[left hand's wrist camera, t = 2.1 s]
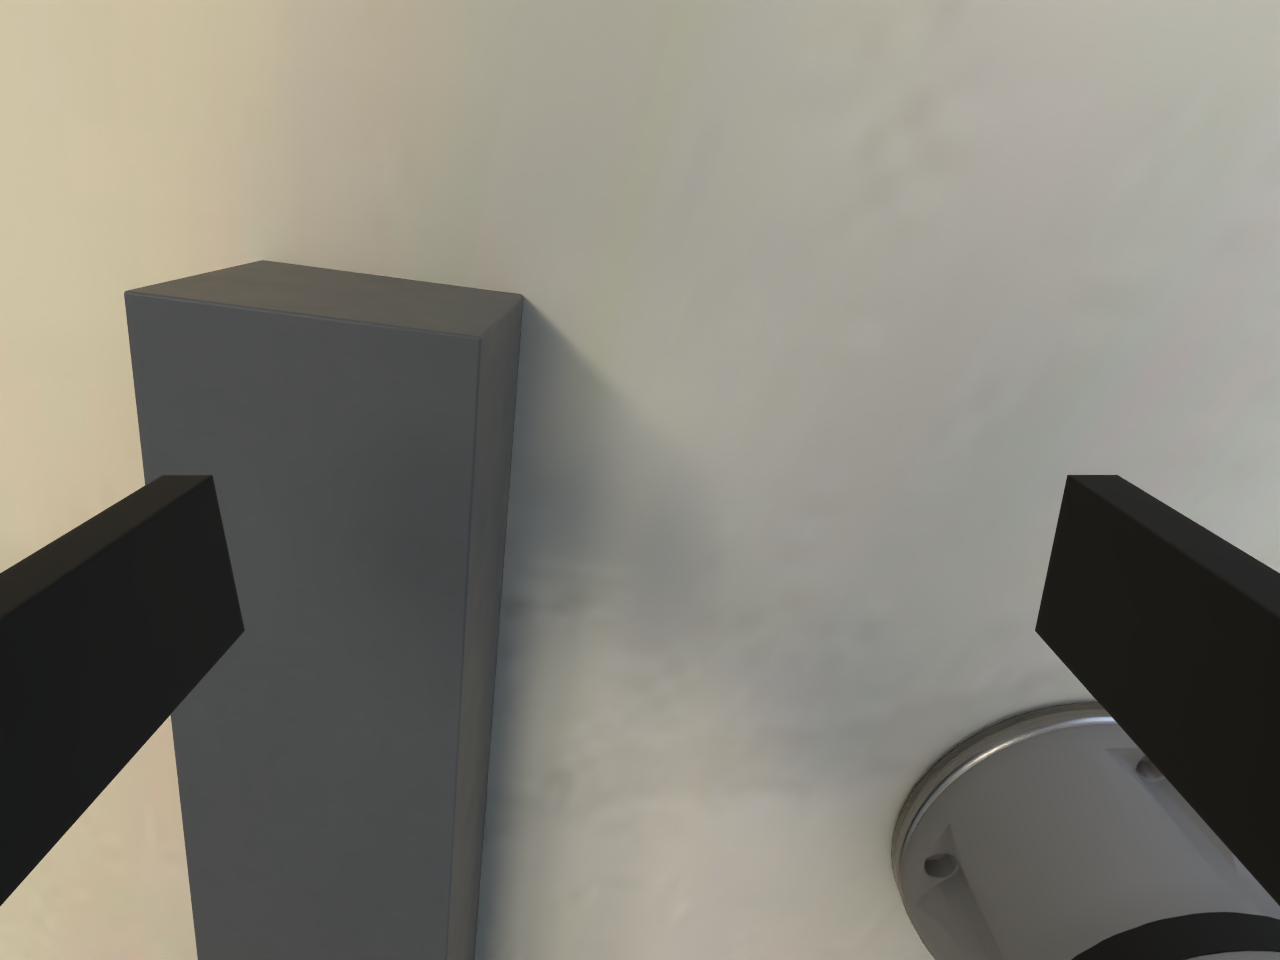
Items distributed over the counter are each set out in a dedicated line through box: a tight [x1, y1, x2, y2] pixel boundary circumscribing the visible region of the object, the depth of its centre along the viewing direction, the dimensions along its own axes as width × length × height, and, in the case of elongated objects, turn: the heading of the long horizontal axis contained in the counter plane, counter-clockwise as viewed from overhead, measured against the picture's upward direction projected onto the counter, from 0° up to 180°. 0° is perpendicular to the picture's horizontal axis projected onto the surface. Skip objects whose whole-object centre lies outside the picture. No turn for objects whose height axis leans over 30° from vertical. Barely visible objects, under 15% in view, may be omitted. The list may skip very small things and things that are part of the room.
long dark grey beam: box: [124, 260, 523, 960], centre depth 33 cm, size 54×9×8 cm, turn 173°
